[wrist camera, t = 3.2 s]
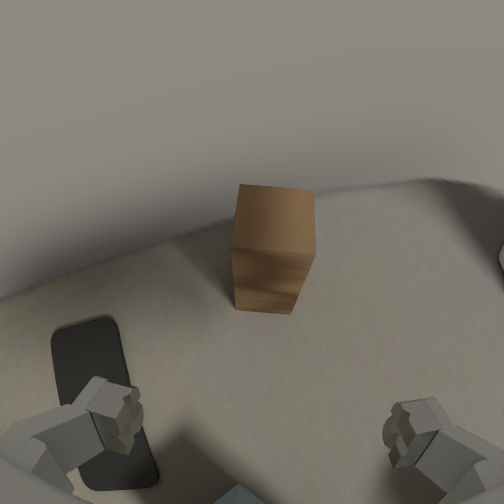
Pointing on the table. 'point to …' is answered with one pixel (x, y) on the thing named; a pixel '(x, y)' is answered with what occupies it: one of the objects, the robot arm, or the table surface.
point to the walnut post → (271, 247)
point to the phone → (74, 381)
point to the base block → (239, 496)
